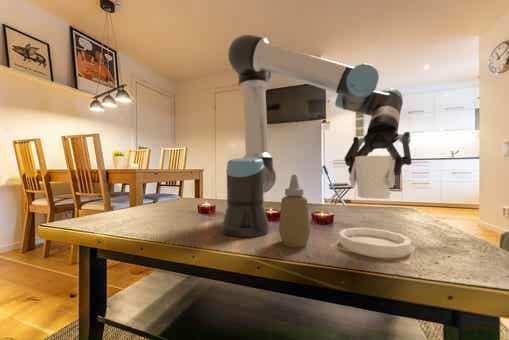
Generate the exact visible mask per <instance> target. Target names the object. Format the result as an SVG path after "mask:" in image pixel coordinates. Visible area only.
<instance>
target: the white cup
mask: <svg viewBox="0 0 509 340" xmlns="http://www.w3.org/2000/svg"><path fill="white" fill-rule="evenodd" d="M391 160H392V157H391V155H383V154H382V155H379V154H378V155H367V156H358V157H355V168H356V179H357V180H356V183H355V184H356V186H357V197H359V198H362V199H374V200H375V199H379V200H382V199H383V200H385V199H389V198H390V188H389V183H388V176H389V170H390V166H391Z"/></svg>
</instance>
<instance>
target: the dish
mask: <svg viewBox="0 0 509 340" xmlns="http://www.w3.org/2000/svg"><path fill="white" fill-rule="evenodd" d="M339 240H340V245H341V246H342V247H343V248H345V249H347V250H349V251H351V252H350V253H354V254H357V255H361V256H365V257H370V258H377V259H381V258H387V259H396V258H404V257H407V256H409V255H410V250H411V245H412V240H411V239H410V238H409V237H407V236H405V235H404V234H402V233H397V232H393V231H390V230H383V229H378V228H370V227H369V228H367V227H352V228H351V227H350V228H344V229H342V230H341V231H338V241H339ZM349 251H348V252H349Z"/></svg>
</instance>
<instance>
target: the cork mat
mask: <svg viewBox="0 0 509 340" xmlns="http://www.w3.org/2000/svg"><path fill="white" fill-rule="evenodd" d="M329 248H332V249H336V250H341V251H346V252H350V253H352V252H351V251H349V250H347V249H345V248H343V247H342V246H341V245H340V240H339V239H338V241H336V242H335V243H333V244H332V245H331V246H329ZM416 248H417V246H416V245H412V244H411V250H410V255H409V256H407V257H404V258H396V259H387V258H380V260H381V259H382V260H386V261H389V262H395V263H398V264H399V263H400V264H404V265H408V266H410V264H411V262H412V258H413V255H414V253H415V250H416Z"/></svg>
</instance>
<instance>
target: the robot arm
mask: <svg viewBox="0 0 509 340" xmlns="http://www.w3.org/2000/svg"><path fill="white" fill-rule="evenodd" d="M227 54H228V55H227V57H228V62H229V64H230V66H231V68H232V69H233V70H234V71H235V72H236V74H237V77H238V88H239V90H240V91H241V92H242V96H243V101H242V102H243V117H244V118H243V120H244V121H243V122H244V141H245V155H244V156H242V157H241V158H233V159H229V160H228V161H227V164H226V170H225V171H226V209H225V214H224V217H223V221H222V223H221V233H222V234H224V235H226V236H231V237H236V238H252V237H254V238H255V237H259V236H263V235H266V234H268V233H269V232H270V223H269V221H268V217H267V213H266V210H265V207H264V193H267V192H268V191H270V190H271V189H272V188H273V187H274V185H275V184H276V181H277V174H276V171H275V168H274V162H273V160H274V158H273V156H272V155H271V154H270V153H269V141H268V140H269V139H268V137H269V136H268V121H267V120H268V118H267V100H266V99H267V97H266V95H267V94H266V92H267V90H268V89H269V88H270V81H271V80H270V79H271V77H272V74H275V75H278V76H281V77H285V78H288V79H291V80H294V81H297V82H301V83H304V84H307V85H310V86H314V87H317V88H319V89H323V90H326V91H329V92H333V93H335V94H337V96H336V98H335V103H334V106H335V107H336V108H340V109H342V110H345V111H350V112H354V113H359V114H362V115H366V116H371V117H370V120H369V124H368V128H367V130H366V131H367V132H366V133H365V135H364V136H363V137H361V138H359V137H358V136H354V137H353V141H352V144H351V146H350V148H349V150H348V151H347V152H346V155H345V156H344V159H343V160H344V162H345V165H346V166H347V167H348V169H347V171H348V173H349V178H348V181H349V183H350V186H351V187H355V186H356V184H357V183H356V181H357V179H356V168H355V157H358V156H369V154H370V153H372V152H374V150H379V149H383V150H384V149H386V150H387V152H388V153H389V156H391V166H390V170H389V176H388V183H389V189H391V188H392V189H394V187H395V186H394V185H395V181H396V180H395V179H396V176H401V174H402V173H401V172H402V166H403V165H404V166H405V165H406V166H410V165H412V155H411V151H410V150H411V149H410V145H409V144H410V142H411V133H410V131H405V132H403V134H399V132H398V131H399V124H400V119H401V113H402V107H403V105H404V104H403V94H402V93H401V91H399V90H398V89H396V88H387V89H383V90H381V91H377V90H376V89H377V85H378V81H379V78H380V77H379V71H378V69H377V68H376V67H375V66H373V65H372V64H369V63H361V64H358V65H356V66H350V65H347V64H345V63H344V64H343V63H340V62H336V61H333V60H330V59H329V60H328V59H326V58H322V57H320V56H319V57H318V56H315V55H312V54H308V53H304V52H301V51H297V50H293V49H290V48H286V47H283V46H281V45H276V44H272V43H270V42H269V41H268V39H267V38H265V37H262V36H257V35H252V34H241V35H239V36H237V37H236V38H235V39H233V41H231V43H230V45H229V48H228V53H227ZM397 141H399V142H400V143H401V144H402V148H403V155H404V156H402V155H401V154H400V153H399V152H398V150H397V148H396V147H395V145H394V143H396V142H397ZM363 143H364V144H363Z"/></svg>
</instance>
